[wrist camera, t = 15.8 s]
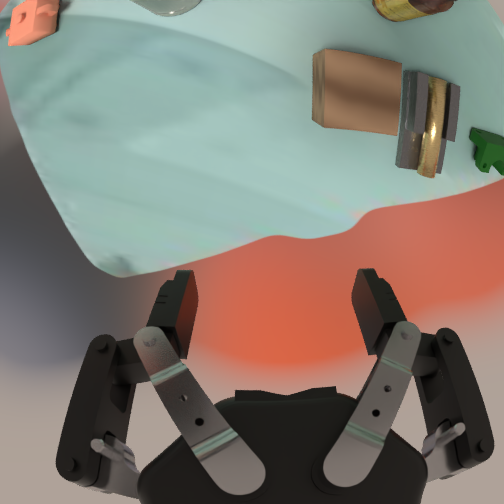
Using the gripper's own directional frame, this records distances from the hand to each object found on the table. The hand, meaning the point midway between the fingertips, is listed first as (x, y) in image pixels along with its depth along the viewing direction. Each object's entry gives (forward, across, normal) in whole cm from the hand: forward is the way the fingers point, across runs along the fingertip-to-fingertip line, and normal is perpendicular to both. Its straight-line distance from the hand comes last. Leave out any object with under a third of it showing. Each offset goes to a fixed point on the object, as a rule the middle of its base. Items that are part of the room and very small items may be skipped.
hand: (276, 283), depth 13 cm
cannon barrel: (+29, -26, -6) cm, 39 cm away
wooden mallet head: (+30, -12, -9) cm, 34 cm away
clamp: (+30, -43, -4) cm, 53 cm away
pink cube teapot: (+30, +37, -30) cm, 57 cm away
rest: (+30, -26, -6) cm, 40 cm away
